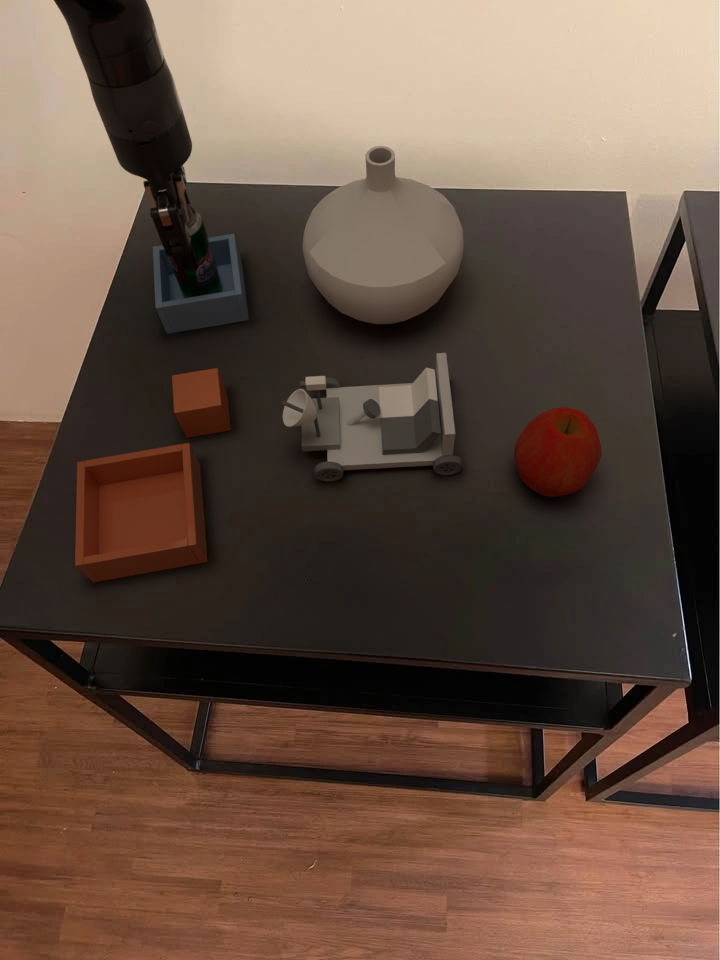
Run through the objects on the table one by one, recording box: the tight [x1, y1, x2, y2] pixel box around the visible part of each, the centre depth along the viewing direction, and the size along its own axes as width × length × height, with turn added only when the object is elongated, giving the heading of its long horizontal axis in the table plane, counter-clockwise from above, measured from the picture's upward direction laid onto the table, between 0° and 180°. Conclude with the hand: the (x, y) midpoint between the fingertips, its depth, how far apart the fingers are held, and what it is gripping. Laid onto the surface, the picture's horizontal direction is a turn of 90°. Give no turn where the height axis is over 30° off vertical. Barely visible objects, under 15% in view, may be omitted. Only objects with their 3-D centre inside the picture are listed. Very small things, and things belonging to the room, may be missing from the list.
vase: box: [301, 145, 465, 325], centre depth 80 cm, size 18×18×19 cm
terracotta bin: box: [74, 442, 208, 583], centre depth 73 cm, size 12×12×5 cm
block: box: [171, 367, 232, 439], centre depth 79 cm, size 5×5×5 cm
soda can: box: [168, 204, 223, 298], centre depth 84 cm, size 5×5×12 cm
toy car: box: [281, 352, 463, 483], centre depth 74 cm, size 18×10×12 cm
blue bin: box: [152, 233, 250, 335], centre depth 88 cm, size 10×10×5 cm
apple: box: [513, 406, 602, 498], centre depth 70 cm, size 8×8×11 cm
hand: (187, 244), depth 82 cm, fingers open, 7 cm apart
